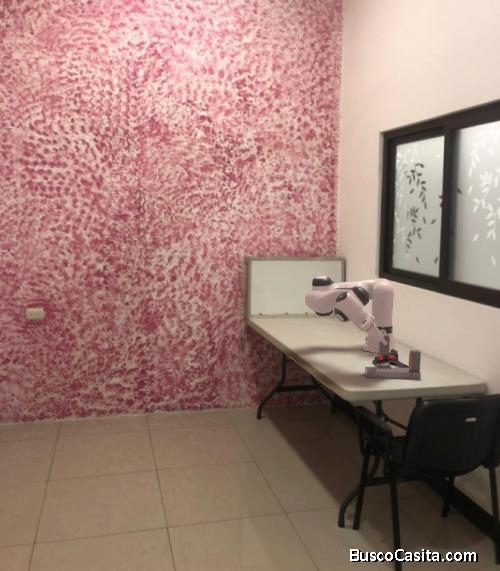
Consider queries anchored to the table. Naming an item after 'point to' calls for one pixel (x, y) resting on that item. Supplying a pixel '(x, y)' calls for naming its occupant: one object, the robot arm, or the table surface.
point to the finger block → (384, 346)
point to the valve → (389, 359)
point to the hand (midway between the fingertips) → (385, 342)
